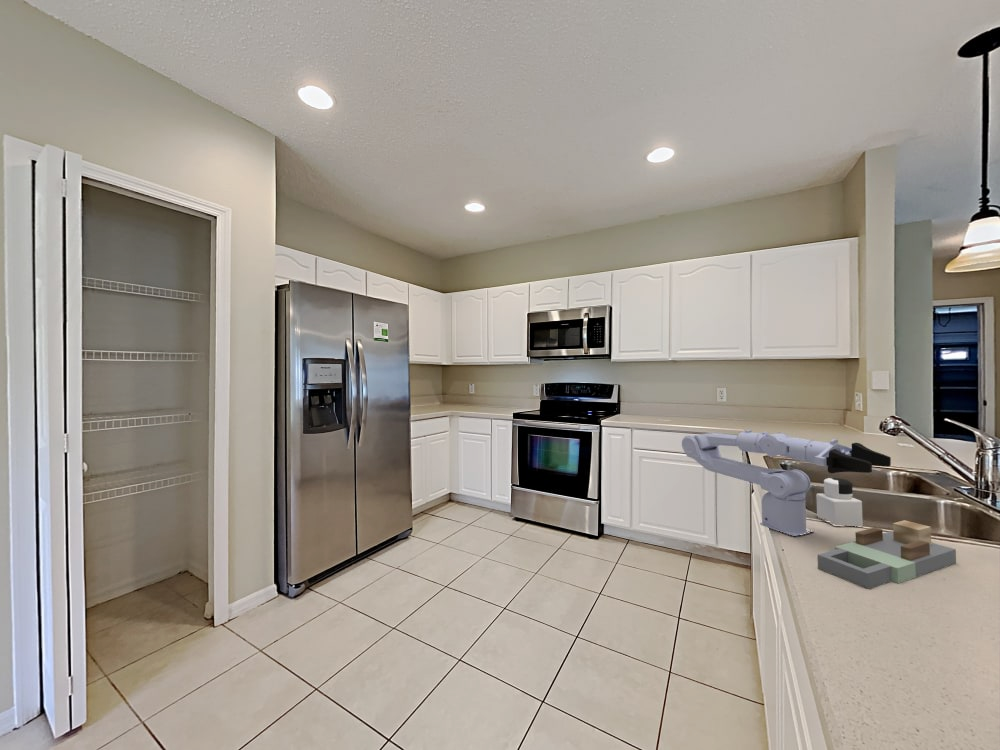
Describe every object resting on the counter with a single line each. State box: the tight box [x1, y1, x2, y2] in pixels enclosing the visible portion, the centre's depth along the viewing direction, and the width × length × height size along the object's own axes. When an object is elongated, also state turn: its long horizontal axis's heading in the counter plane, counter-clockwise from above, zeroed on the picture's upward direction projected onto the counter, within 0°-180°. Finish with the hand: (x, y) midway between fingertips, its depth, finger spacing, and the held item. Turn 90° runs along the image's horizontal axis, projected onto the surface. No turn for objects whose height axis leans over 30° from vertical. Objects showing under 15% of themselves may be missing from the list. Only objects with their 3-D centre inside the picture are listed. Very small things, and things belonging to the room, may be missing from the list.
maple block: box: [892, 519, 932, 545], centre depth 90 cm, size 4×4×4 cm
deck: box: [817, 530, 957, 590], centre depth 87 cm, size 11×28×3 cm, turn 110°
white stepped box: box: [816, 477, 864, 528], centre depth 111 cm, size 7×7×12 cm
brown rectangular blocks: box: [855, 526, 930, 561], centre depth 87 cm, size 10×7×2 cm
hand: (880, 464), depth 88 cm, fingers open, 7 cm apart
